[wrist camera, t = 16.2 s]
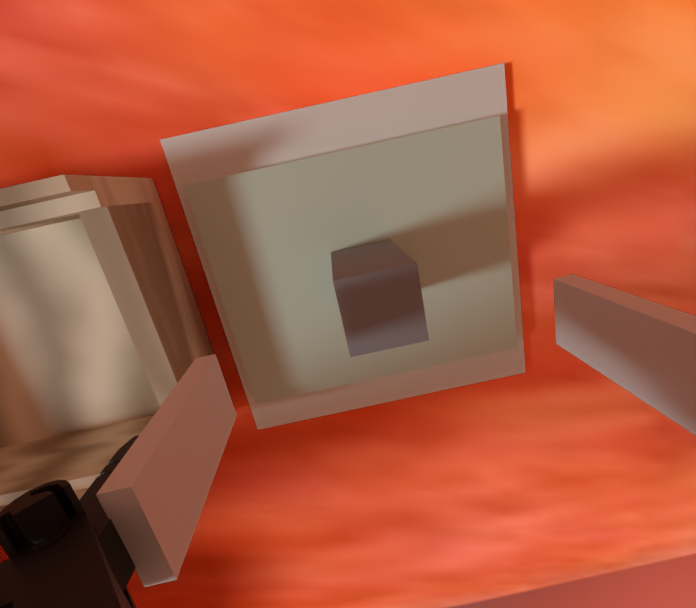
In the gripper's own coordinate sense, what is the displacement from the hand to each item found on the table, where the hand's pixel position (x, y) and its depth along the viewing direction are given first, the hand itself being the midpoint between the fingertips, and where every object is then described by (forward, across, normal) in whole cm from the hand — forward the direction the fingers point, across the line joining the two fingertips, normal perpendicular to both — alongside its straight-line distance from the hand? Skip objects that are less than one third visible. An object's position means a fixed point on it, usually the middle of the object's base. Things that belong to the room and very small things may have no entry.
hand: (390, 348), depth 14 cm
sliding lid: (+13, 0, 0) cm, 13 cm away
